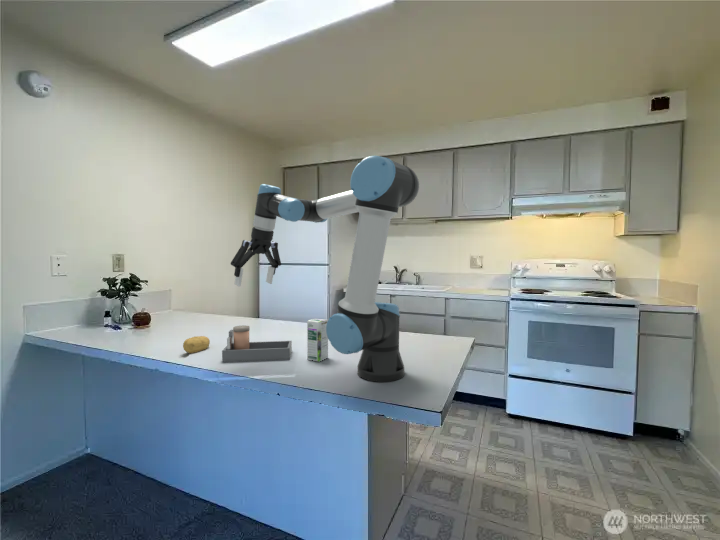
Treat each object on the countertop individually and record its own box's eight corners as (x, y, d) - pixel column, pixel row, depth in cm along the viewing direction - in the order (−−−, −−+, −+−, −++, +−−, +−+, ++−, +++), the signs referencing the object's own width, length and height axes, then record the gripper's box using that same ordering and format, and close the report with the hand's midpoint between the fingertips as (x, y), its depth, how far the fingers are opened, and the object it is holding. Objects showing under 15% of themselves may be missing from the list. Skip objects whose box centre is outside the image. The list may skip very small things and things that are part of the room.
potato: (178, 355, 129) (177, 339, 129) (202, 347, 140) (202, 332, 139) (190, 357, 127) (190, 340, 126) (214, 349, 137) (214, 334, 136)
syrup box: (306, 360, 123) (306, 320, 122) (316, 355, 128) (315, 317, 128) (319, 362, 121) (319, 322, 120) (328, 357, 126) (328, 319, 125)
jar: (248, 358, 121) (247, 328, 121) (232, 359, 121) (231, 329, 120) (251, 354, 127) (250, 325, 126) (235, 354, 126) (235, 325, 126)
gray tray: (291, 353, 131) (291, 340, 131) (289, 362, 121) (289, 348, 121) (229, 355, 128) (229, 342, 128) (222, 365, 118) (222, 350, 118)
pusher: (235, 352, 127) (235, 328, 127) (230, 359, 119) (229, 333, 119) (232, 353, 127) (232, 328, 127) (227, 359, 119) (226, 333, 119)
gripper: (284, 228, 134) (274, 278, 139) (225, 223, 114) (217, 282, 119) (296, 232, 130) (286, 284, 134) (238, 228, 110) (228, 289, 115)
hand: (253, 283), depth 127 cm, fingers open, 13 cm apart
